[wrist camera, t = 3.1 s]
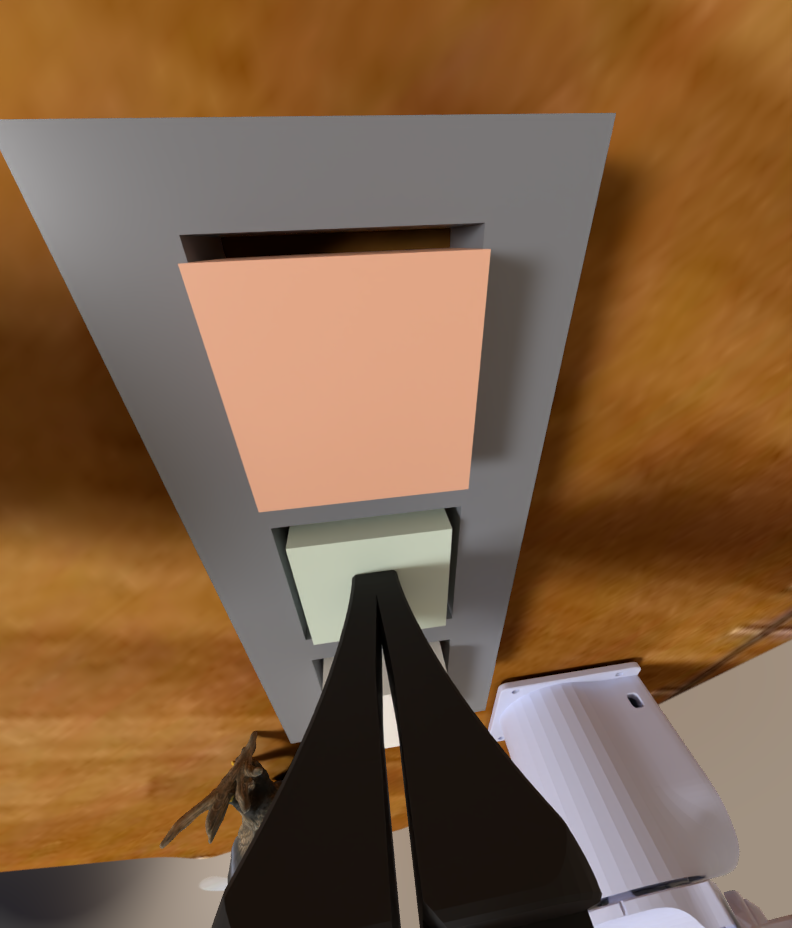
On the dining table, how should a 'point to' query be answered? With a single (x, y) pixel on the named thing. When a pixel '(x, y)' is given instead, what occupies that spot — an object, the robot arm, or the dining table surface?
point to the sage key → (371, 565)
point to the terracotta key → (346, 369)
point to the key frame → (308, 212)
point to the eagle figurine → (235, 803)
